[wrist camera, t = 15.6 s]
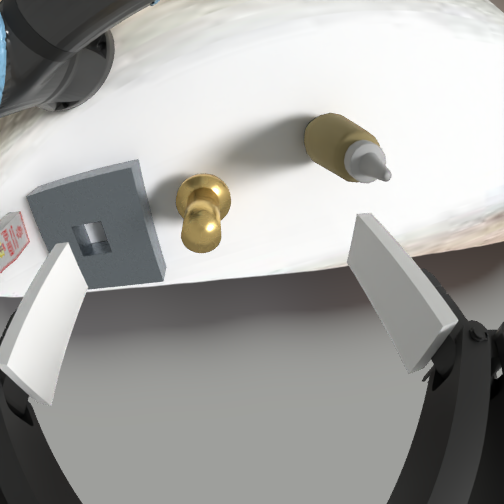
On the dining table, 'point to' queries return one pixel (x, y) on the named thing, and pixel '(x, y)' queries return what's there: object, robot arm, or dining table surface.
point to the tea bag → (12, 238)
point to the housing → (113, 221)
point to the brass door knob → (202, 211)
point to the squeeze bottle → (345, 149)
